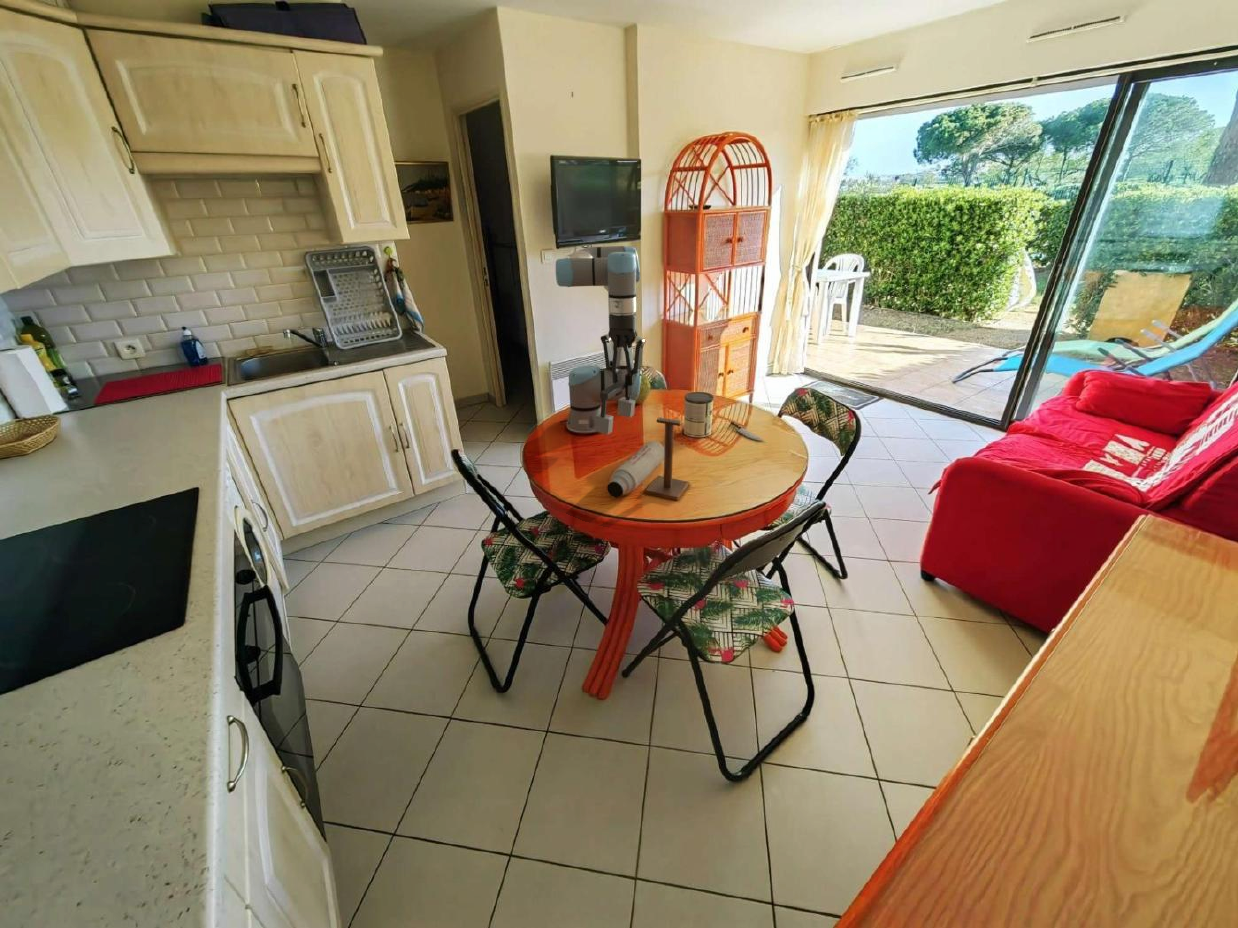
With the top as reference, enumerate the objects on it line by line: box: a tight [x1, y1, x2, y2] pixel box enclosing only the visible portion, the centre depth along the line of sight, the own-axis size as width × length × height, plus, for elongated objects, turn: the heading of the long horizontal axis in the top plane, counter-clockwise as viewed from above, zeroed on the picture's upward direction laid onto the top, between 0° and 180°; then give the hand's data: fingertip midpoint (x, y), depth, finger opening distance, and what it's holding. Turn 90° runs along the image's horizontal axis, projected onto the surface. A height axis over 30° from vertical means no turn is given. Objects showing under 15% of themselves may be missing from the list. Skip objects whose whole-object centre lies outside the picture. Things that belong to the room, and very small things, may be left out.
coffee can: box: [683, 391, 715, 438], centre depth 187 cm, size 10×10×14 cm
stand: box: [644, 417, 690, 501], centre depth 147 cm, size 10×10×22 cm
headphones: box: [594, 377, 636, 436], centre depth 148 cm, size 4×17×12 cm, turn 153°
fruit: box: [635, 372, 651, 405], centre depth 217 cm, size 16×14×15 cm
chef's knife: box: [730, 421, 764, 442], centre depth 188 cm, size 19×1×3 cm
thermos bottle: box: [606, 440, 665, 499], centre depth 154 cm, size 8×8×28 cm
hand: (623, 394), depth 150 cm, fingers closed on headphones, 3 cm apart
